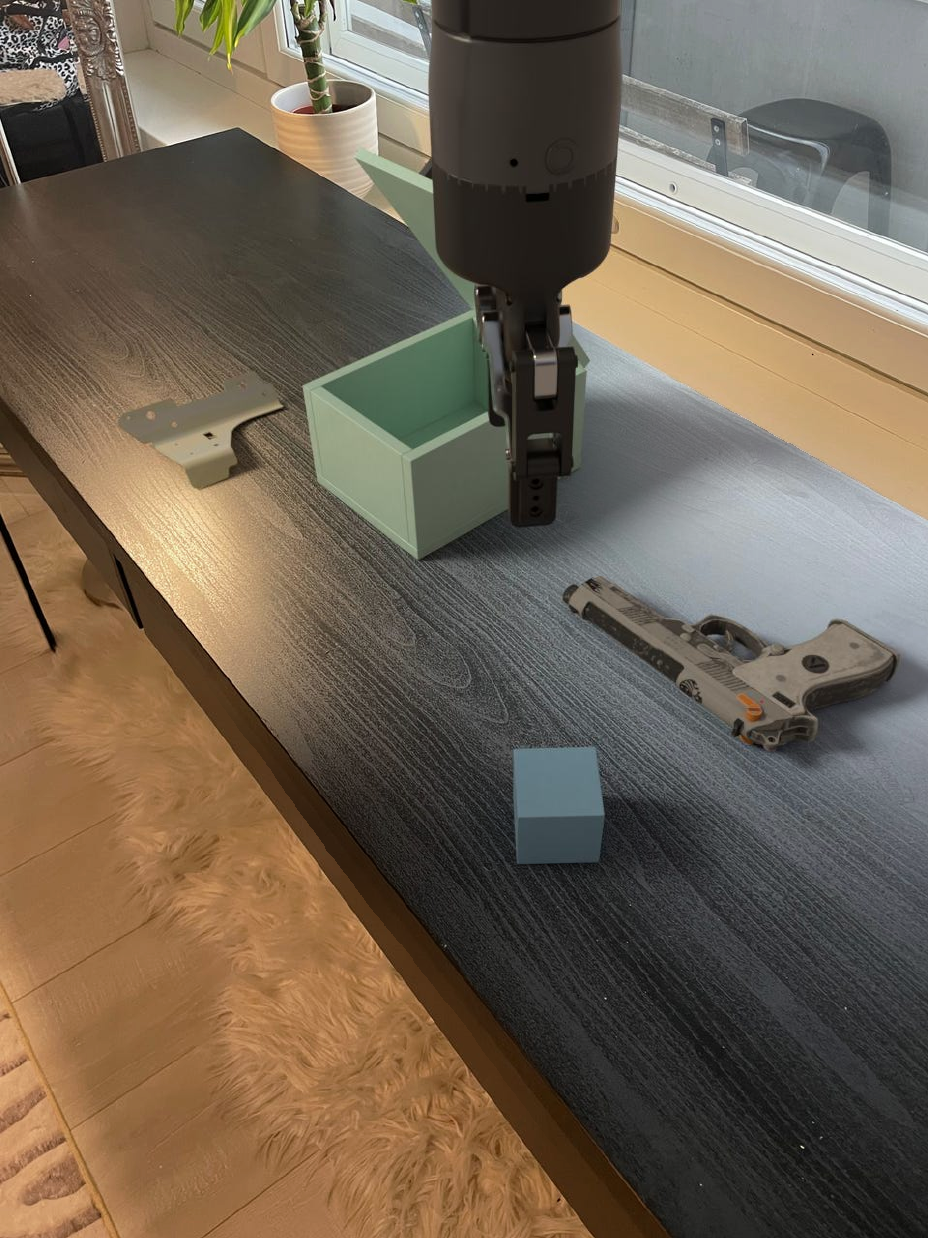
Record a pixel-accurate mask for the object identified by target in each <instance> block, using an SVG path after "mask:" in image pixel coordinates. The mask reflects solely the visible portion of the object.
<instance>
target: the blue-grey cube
mask: <svg viewBox="0 0 928 1238" xmlns="http://www.w3.org/2000/svg"><path fill="white" fill-rule="evenodd" d="M512 777H513V778H512V779H513V781H512V783H513V785H512V787H513V788H512V798H513V799H512V800H513V817H514V819H513V820H514V836H515V837H514V839H515V851H516V853H515V854H516V856H515V857H516V865H539V864H540V865H541V864H543V865H544V864H576V863H578V864H581V863H582V864H584V863H599V862H600V858H601V849H602V841H603V834H604V825H605V817H606V813H605V805H604V797H603V790H602V783H601V775H600V767H599V760H598V752H597V747H596V746H574V747H573V746H572V747H537V748H536V747H535V748H514V749H513V776H512Z"/></svg>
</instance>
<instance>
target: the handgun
mask: <svg viewBox="0 0 928 1238" xmlns="http://www.w3.org/2000/svg"><path fill="white" fill-rule="evenodd" d="M561 597H562V602H563V603H565V604H566V605H567V607H568V609H569V610H570V612H571V613H572V614H575V615H577V616H579V618H581V619H583V620H585V621H589V622H590V623H591V624H593V625H594V626H596V627H597V628H598V629H600V630H601V631H603V632H604V633H605V634H607V635H608V636H610V637H611V638H612V639H613V640H614V641H616V642H617V643H619V644H621V646H623V647H624V648H626V649H627V650H628V651H630V652H631V653H633V654H634V655H635V656H637V657H638V658H640V659H641V660H642V661H644V662H645V663H647V664H648V665H650V666H651V667H652V668H654V669H656V670H657V671H658V672H659V673H661V674H663V676H665V677H667V678H668V679H669V680H671V681H672V682H673V683H675V687H676V689H678V690H680V691H681V692H682V693H684V694H685V695H687V696H688V697H689V698H690V699H692V700H693V701H695V702H696V703H698V704H699V705H700V706H702V707H703V708H704V709H706V710H707V711H709V712H710V713H711V714H713V716H715V717H716V718H718V719H719V720H721V721H722V722H724V724H726V725H728V726H729V727H731V728H732V730H731V732H730V735H731V736H732V737H733V738H737V737H739V739H740V740H741V741H742V742H743V743H745V744H747V745H750V746H752V745H753V744H757V745H762V746H763V748H764V749H765V750H766V751H768V752H775V751H776V750H777V748H778V747H779V746H783V745H787V744H788V741H792V740H796V741H797V740H798V741H802V742H806V743H812V742H813V741H814V739H815V738H816V736H817V734H818V730H819V720H818V718H817V716H815V715H813V714H812V713H811V712H810V711H812V710H815V709H819V708H823V707H826V706H830V705H834V704H838V703H839V704H840V703H843V702H847V701H853V700H856V699H859V698H863V697H866V696H868V695H870V694H872V693H874V692H875V691H876V690H878V689H879V688H880V687H882V685H884V683H887V684H888V683H889V682H891V680H892V679H893V677H895V675H896V672H897V670H898V668H899V663H900V653H899V652H898V651H897V650H895V649H894V648H892V647H891V646H888V645H887V644H885V643H884V642H883V641H881V640H879V639H877V638H875V636H874V637H873V636H872V635H871V634H869V633H867V632H866V631H864V630H862V629H861V628H859V627H857V626H856V625H854V624H852V623H850V622H849V621H847V620H844V619H841V618H833V619H830V620H829V622H828V624H827V627H826V629H825V630H824V631H822V632H821V633H820V634H818V635H816V636H814V637H813V638H811V639H809V640H806V641H803V642H801V643H796V644H794V645H790V646H786V647H785V646H783V644H781V643H773V644H771V645H769V644H768V643H766V642H765V641H764V640H763V639H762V638H761V636H758V635H757V633H755V632H753V630H751V629H749V628H748V627H746V626H744V625H743V624H741V623H739V622H738V621H736V620H733V619H731V618H729V617H724V616H721V615H716V614H712V613H710V614H708V615H706V616H705V617H704V618H702V619H700V620H699V621H697V622H695V623H693V624H691V625H690V624H688V623H687V622H686V621H684V620H682V619H679V618H668V617H665V616H662V615H661V614H660V613H658V612H657V611H655V610H654V609H652V608H651V607H649V606H647V605H646V604H644V603H643V602H641V600H639V599H638V598H636V597H635V596H633V595H632V594H630V593H628V592H627V591H626V590H624V589H623V588H621V587H620V586H618V585H617V584H616V583H612V582H611V581H610V580H608V579H607V578H605V577H604V576H602V575H598V576H597V577H594V576H592V577H591V578H589V579H587V580H585V581H584V582H581V583H580V585H579V586H578V585H577V584H575V583H574V584H570V585H569V586H567V587H566V589H565V590H564V592H563V594H562V596H561ZM714 635H715V636H721V637H723V638H724V639H725V642H726V644H725V645H724V646H723V647H722V646H721V645H720V644H718V643H716V642H715V641H713V640H712V639H711V638H709V637H708V636H714ZM734 641H735V642H737V643H738V644H740V645H742V646H743V647H744V648H746V649H747V650H748V651H749V652H751V654H753V656H754V657H755V658H753V659H744V658H740V657H738V656H737V655H735V654H733V653H732V651H733V647H734Z"/></svg>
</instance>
